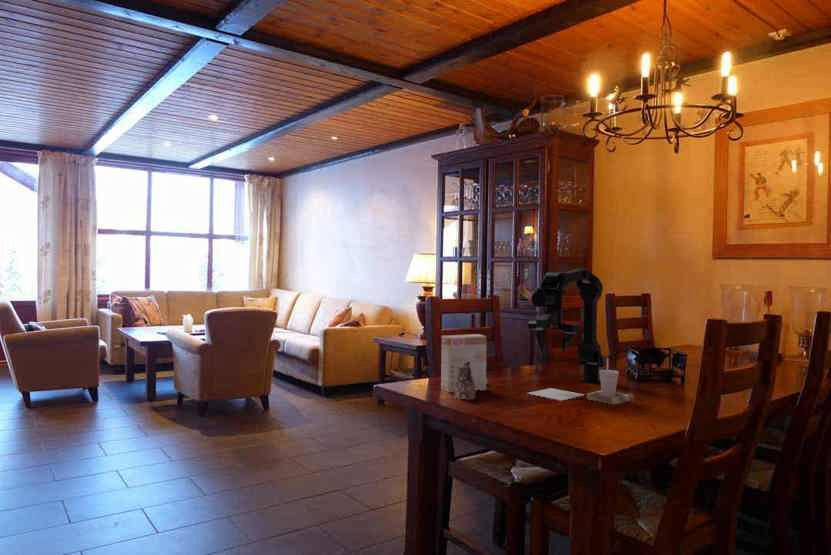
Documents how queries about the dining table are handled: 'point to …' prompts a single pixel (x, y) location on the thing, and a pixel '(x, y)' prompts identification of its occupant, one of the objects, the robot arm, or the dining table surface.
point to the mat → (556, 394)
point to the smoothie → (608, 381)
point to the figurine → (464, 382)
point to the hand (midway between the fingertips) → (552, 350)
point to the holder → (598, 397)
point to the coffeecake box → (463, 359)
